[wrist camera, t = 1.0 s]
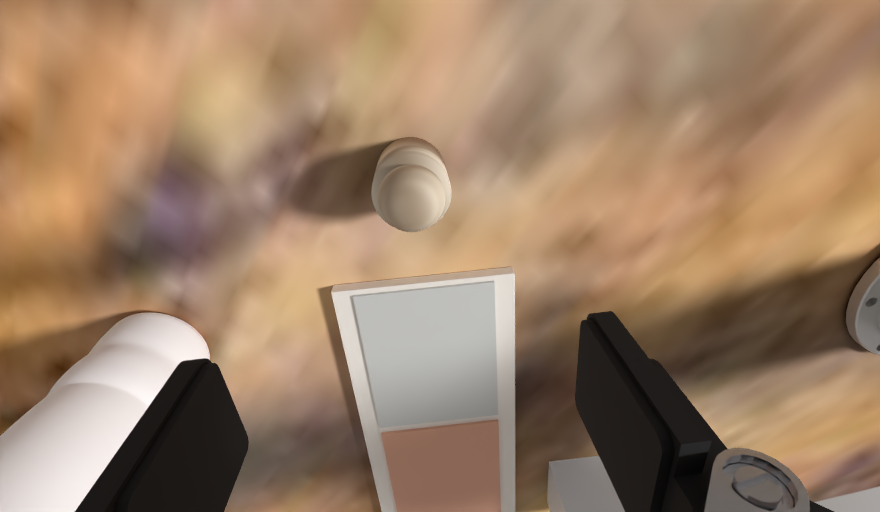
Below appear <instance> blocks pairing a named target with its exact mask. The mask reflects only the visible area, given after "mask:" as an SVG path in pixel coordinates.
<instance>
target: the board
mask: <svg viewBox="0 0 880 512" xmlns="http://www.w3.org/2000/svg"><path fill="white" fill-rule="evenodd" d="M331 294H332V299H333V303H334V307H335V312H336V316H337V320H338V325H339V329H340V333H341V338H342V342H343V346H344V351H345V355H346V359H347V364H348V368H349V372H350V377H351V381H352V385H353V390H354V394H355V398H356V403H357V407H358V411H359V416H360V420H361V424H362V429H363V433H364V437H365V442H366V446H367V450H368V455H369V459H370V463H371V468H372V472H373V476H374V481H375V485H376V489H377V494H378V498H379V502H380V507H381V511H382V512H515V273H514V271H513V268H512V267H504V268H494V269H485V270H475V271H466V272H456V273H446V274H437V275H427V276H417V277H408V278H398V279H389V280H379V281H369V282H360V283H350V284H340V285H333V288H332V291H331Z"/></svg>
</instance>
